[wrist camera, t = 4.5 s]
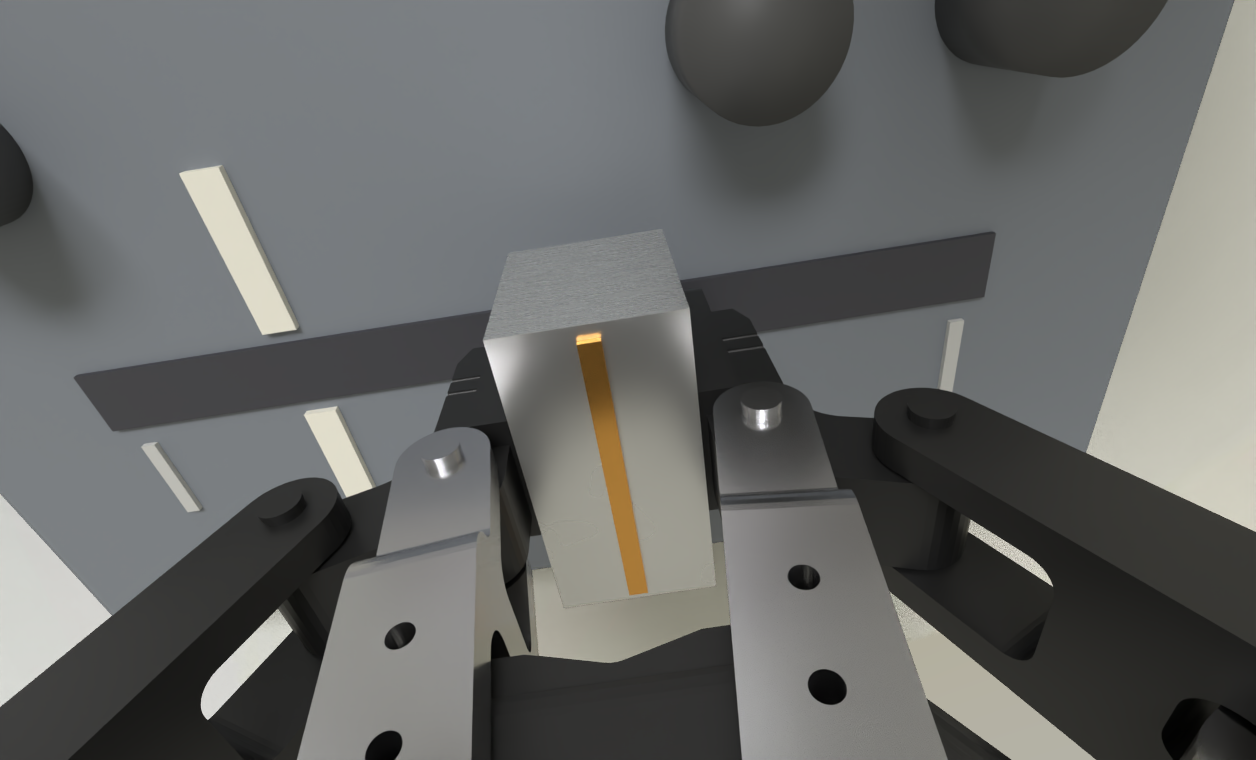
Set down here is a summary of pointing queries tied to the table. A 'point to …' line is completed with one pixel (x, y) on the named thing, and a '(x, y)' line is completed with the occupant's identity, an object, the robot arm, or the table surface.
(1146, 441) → the table surface
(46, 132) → the console
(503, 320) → the fader
